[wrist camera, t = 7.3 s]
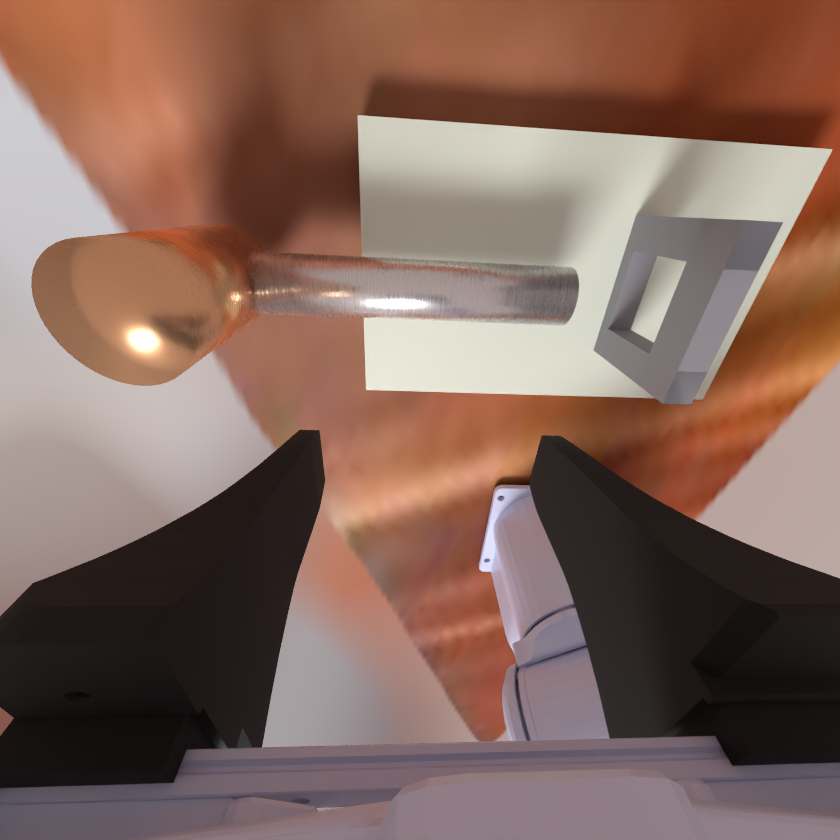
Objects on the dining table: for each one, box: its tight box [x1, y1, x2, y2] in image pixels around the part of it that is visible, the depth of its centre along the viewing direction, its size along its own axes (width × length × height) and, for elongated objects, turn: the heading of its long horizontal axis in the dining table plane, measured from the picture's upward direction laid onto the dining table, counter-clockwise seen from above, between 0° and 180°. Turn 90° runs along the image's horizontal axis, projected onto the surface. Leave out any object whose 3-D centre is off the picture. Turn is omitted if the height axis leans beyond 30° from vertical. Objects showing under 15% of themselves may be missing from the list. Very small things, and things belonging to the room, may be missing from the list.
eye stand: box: [358, 115, 833, 405], centre depth 16 cm, size 12×20×8 cm, turn 87°
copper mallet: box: [32, 224, 579, 386], centre depth 13 cm, size 4×17×7 cm, turn 87°
